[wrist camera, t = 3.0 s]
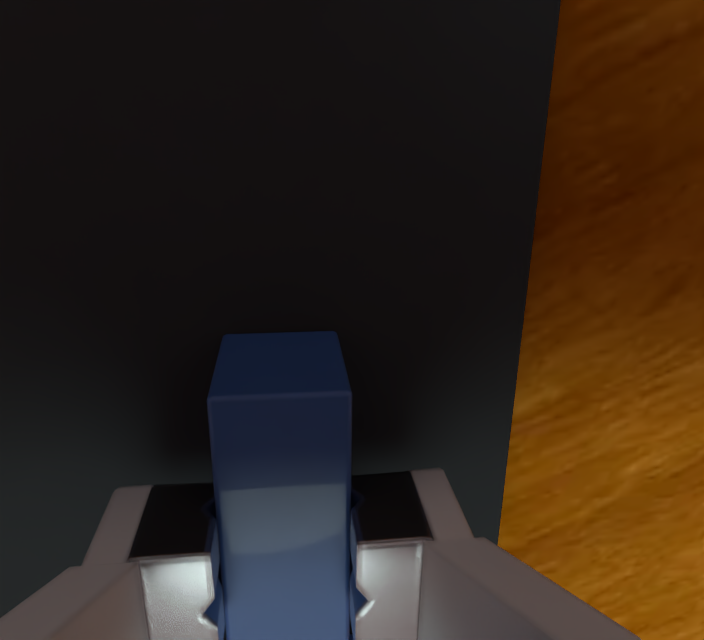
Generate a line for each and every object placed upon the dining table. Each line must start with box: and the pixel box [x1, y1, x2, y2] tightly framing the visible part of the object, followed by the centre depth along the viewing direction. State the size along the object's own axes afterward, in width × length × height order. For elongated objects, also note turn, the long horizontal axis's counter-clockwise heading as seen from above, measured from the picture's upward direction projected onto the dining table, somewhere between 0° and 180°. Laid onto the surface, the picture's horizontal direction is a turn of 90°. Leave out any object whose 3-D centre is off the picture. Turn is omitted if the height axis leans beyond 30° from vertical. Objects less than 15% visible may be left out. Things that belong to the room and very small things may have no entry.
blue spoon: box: [207, 331, 353, 640], centre depth 10 cm, size 10×4×2 cm, turn 0°
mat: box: [0, 0, 561, 640], centre depth 11 cm, size 20×15×1 cm
